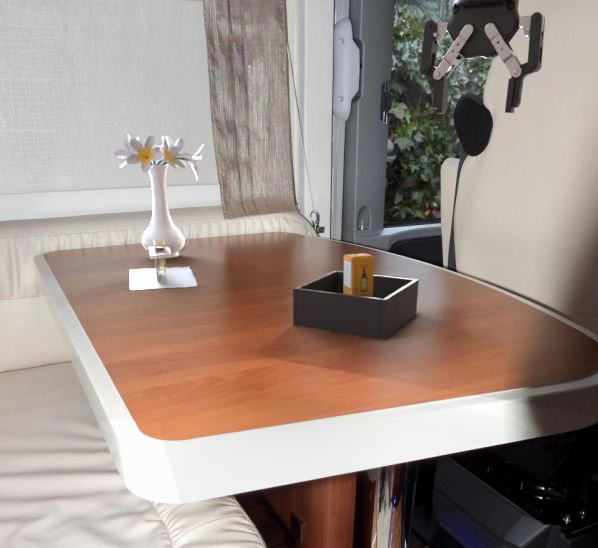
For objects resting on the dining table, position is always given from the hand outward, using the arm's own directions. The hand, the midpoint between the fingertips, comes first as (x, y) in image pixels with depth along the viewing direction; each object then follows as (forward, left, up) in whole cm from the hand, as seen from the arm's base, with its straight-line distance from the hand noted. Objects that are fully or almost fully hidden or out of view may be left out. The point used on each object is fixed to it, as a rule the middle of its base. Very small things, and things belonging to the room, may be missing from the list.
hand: (474, 113), depth 80 cm
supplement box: (+12, +7, -28) cm, 31 cm away
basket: (+12, +7, -28) cm, 31 cm away
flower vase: (+71, -25, -28) cm, 80 cm away
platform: (+58, -7, -28) cm, 65 cm away
